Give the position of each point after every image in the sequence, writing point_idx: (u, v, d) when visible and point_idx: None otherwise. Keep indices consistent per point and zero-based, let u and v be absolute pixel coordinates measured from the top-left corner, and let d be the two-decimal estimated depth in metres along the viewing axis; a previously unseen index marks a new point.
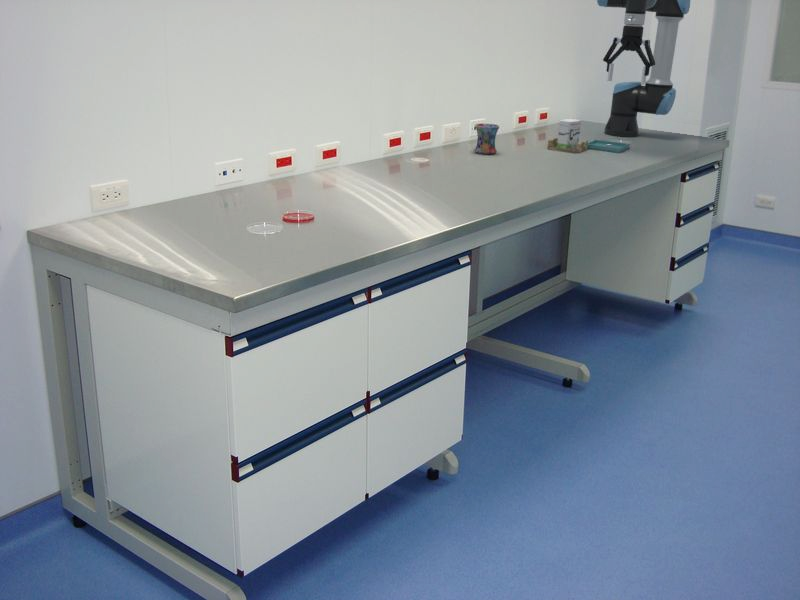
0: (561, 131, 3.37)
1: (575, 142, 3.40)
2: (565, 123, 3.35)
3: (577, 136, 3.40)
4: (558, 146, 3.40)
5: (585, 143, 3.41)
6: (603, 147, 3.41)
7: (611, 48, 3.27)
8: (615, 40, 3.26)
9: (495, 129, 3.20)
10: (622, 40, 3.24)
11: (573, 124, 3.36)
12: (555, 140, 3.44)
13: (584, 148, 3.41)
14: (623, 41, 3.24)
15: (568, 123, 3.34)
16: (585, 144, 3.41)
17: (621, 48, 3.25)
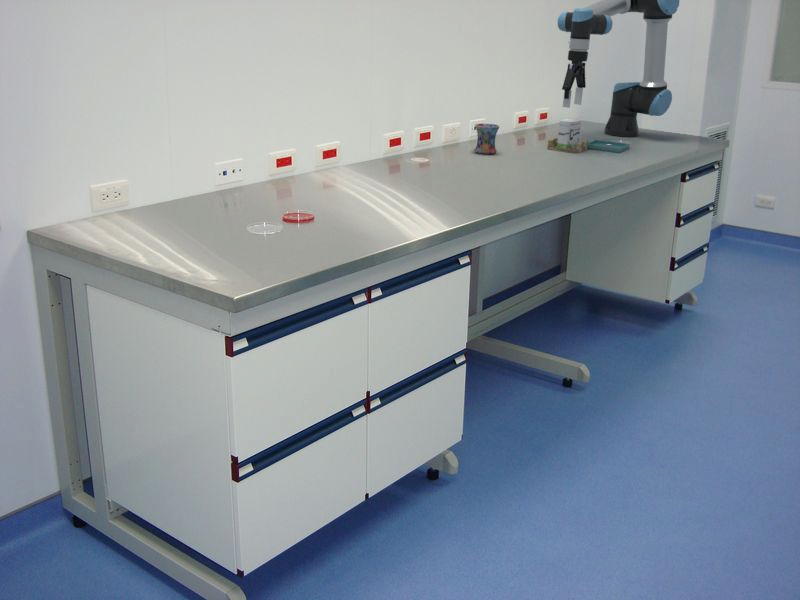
0: (561, 131, 3.37)
1: (575, 142, 3.40)
2: (565, 123, 3.35)
3: (577, 136, 3.40)
4: (558, 146, 3.40)
5: (585, 143, 3.41)
6: (603, 147, 3.41)
7: None
8: None
9: (495, 129, 3.20)
10: None
11: (573, 124, 3.36)
12: (555, 140, 3.44)
13: (584, 148, 3.41)
14: None
15: (568, 123, 3.34)
16: (585, 144, 3.41)
17: None
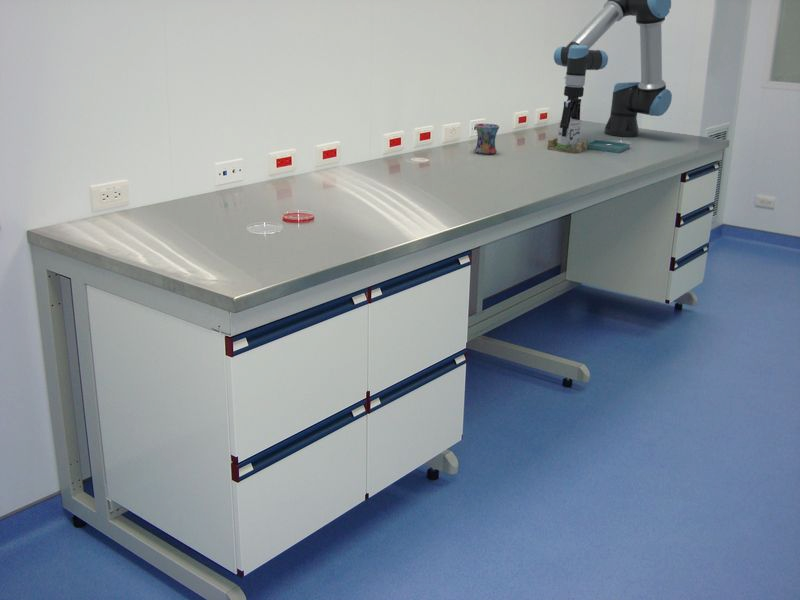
0: (561, 131, 3.37)
1: (575, 142, 3.40)
2: None
3: (577, 136, 3.40)
4: (558, 146, 3.40)
5: (585, 143, 3.41)
6: (603, 147, 3.41)
7: None
8: None
9: (495, 129, 3.20)
10: None
11: (573, 124, 3.36)
12: (555, 140, 3.44)
13: (584, 148, 3.41)
14: None
15: None
16: (585, 144, 3.41)
17: None
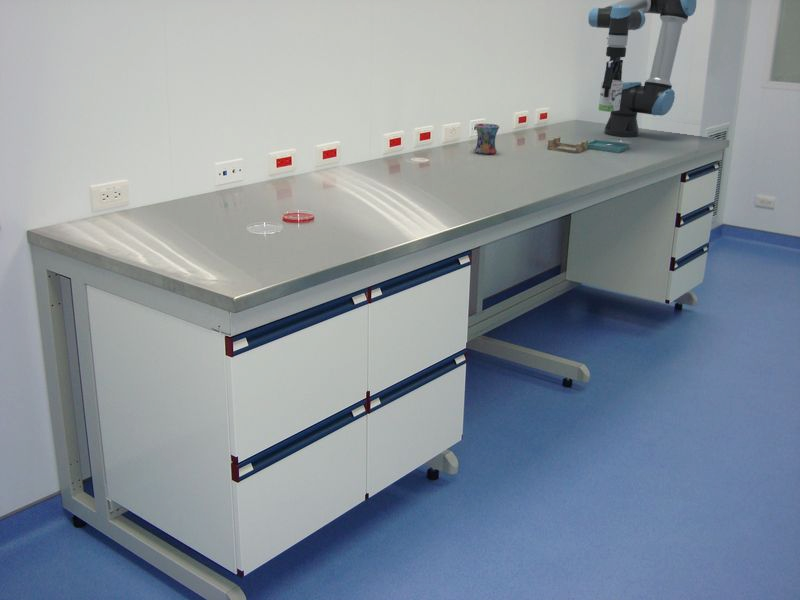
0: (603, 92, 3.37)
1: (617, 103, 3.41)
2: None
3: (619, 97, 3.40)
4: (600, 107, 3.40)
5: (585, 143, 3.41)
6: (603, 147, 3.41)
7: None
8: None
9: (495, 129, 3.20)
10: None
11: (615, 85, 3.36)
12: (555, 140, 3.44)
13: (584, 148, 3.41)
14: None
15: None
16: (585, 144, 3.41)
17: None
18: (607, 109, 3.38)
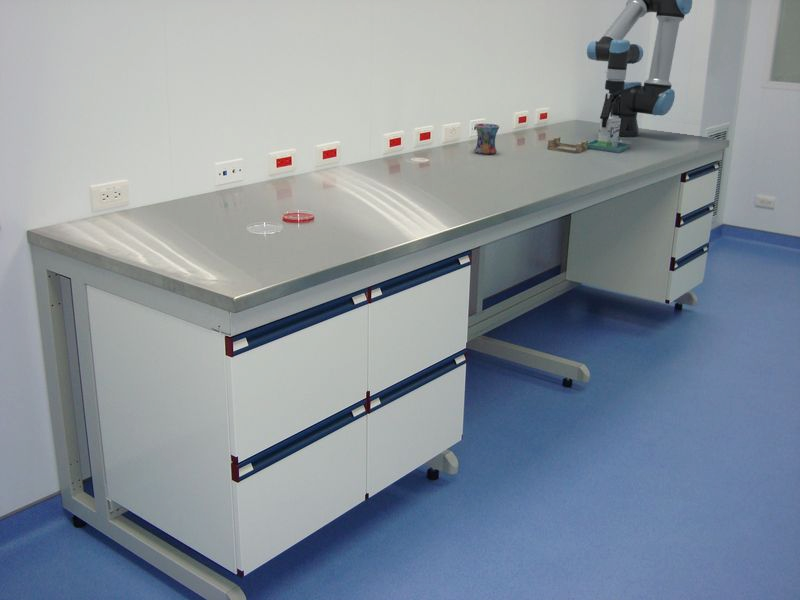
0: None
1: (615, 139, 3.47)
2: None
3: (617, 134, 3.46)
4: (598, 143, 3.45)
5: (585, 143, 3.41)
6: (603, 147, 3.41)
7: None
8: None
9: (495, 129, 3.20)
10: None
11: (614, 122, 3.42)
12: (555, 140, 3.44)
13: (584, 148, 3.41)
14: None
15: (609, 121, 3.40)
16: (585, 144, 3.41)
17: None
18: (606, 146, 3.44)
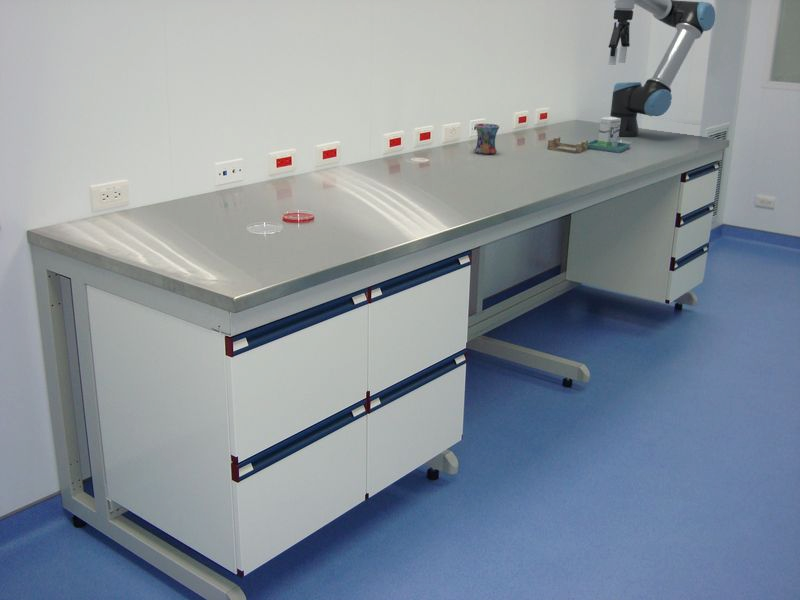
0: (602, 129, 3.43)
1: (615, 139, 3.47)
2: (606, 121, 3.41)
3: (617, 134, 3.46)
4: (598, 143, 3.45)
5: (585, 143, 3.41)
6: (603, 147, 3.41)
7: None
8: None
9: (495, 129, 3.20)
10: None
11: (614, 122, 3.42)
12: (555, 140, 3.44)
13: (584, 148, 3.41)
14: None
15: (609, 121, 3.40)
16: (585, 144, 3.41)
17: None
18: (606, 146, 3.44)
